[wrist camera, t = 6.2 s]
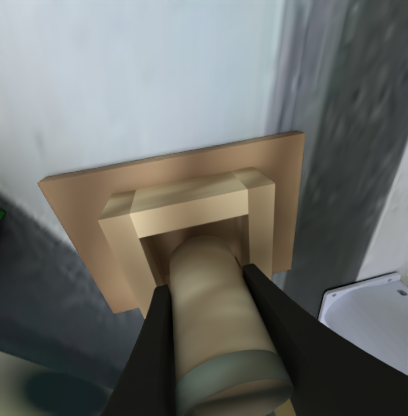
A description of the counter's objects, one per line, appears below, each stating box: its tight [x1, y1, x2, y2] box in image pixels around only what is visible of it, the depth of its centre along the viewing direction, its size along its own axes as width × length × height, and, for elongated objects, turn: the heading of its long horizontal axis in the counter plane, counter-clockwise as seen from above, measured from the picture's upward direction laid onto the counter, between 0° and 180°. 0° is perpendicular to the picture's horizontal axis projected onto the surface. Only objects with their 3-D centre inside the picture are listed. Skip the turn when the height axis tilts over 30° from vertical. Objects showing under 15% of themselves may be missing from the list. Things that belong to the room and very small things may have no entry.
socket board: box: [37, 131, 305, 319], centre depth 14 cm, size 16×12×4 cm
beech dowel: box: [169, 235, 294, 416], centre depth 10 cm, size 4×4×7 cm
